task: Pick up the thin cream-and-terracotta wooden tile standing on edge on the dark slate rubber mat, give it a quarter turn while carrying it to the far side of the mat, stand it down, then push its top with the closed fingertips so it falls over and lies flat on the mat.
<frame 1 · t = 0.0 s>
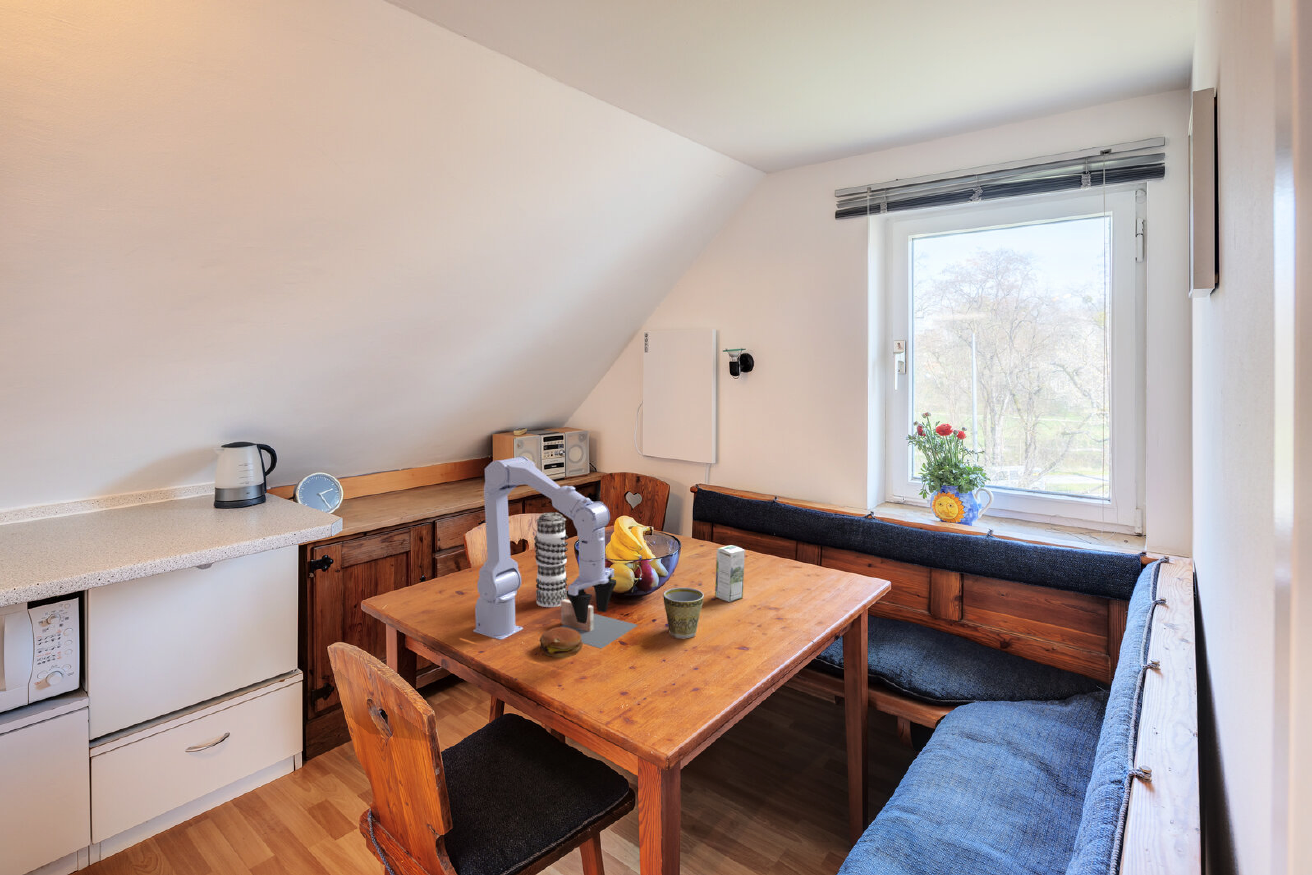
hand: (592, 616, 150), 10 cm above the table, tool pointing down, fingers open, 7 cm apart
burger: (561, 652, 155), on the table
ceramic cup: (683, 631, 167), on the table
syrup box: (729, 598, 190), on the table
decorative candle: (551, 603, 185), on the table
mat: (593, 630, 167), on the table
tile: (577, 626, 168), resting on mat
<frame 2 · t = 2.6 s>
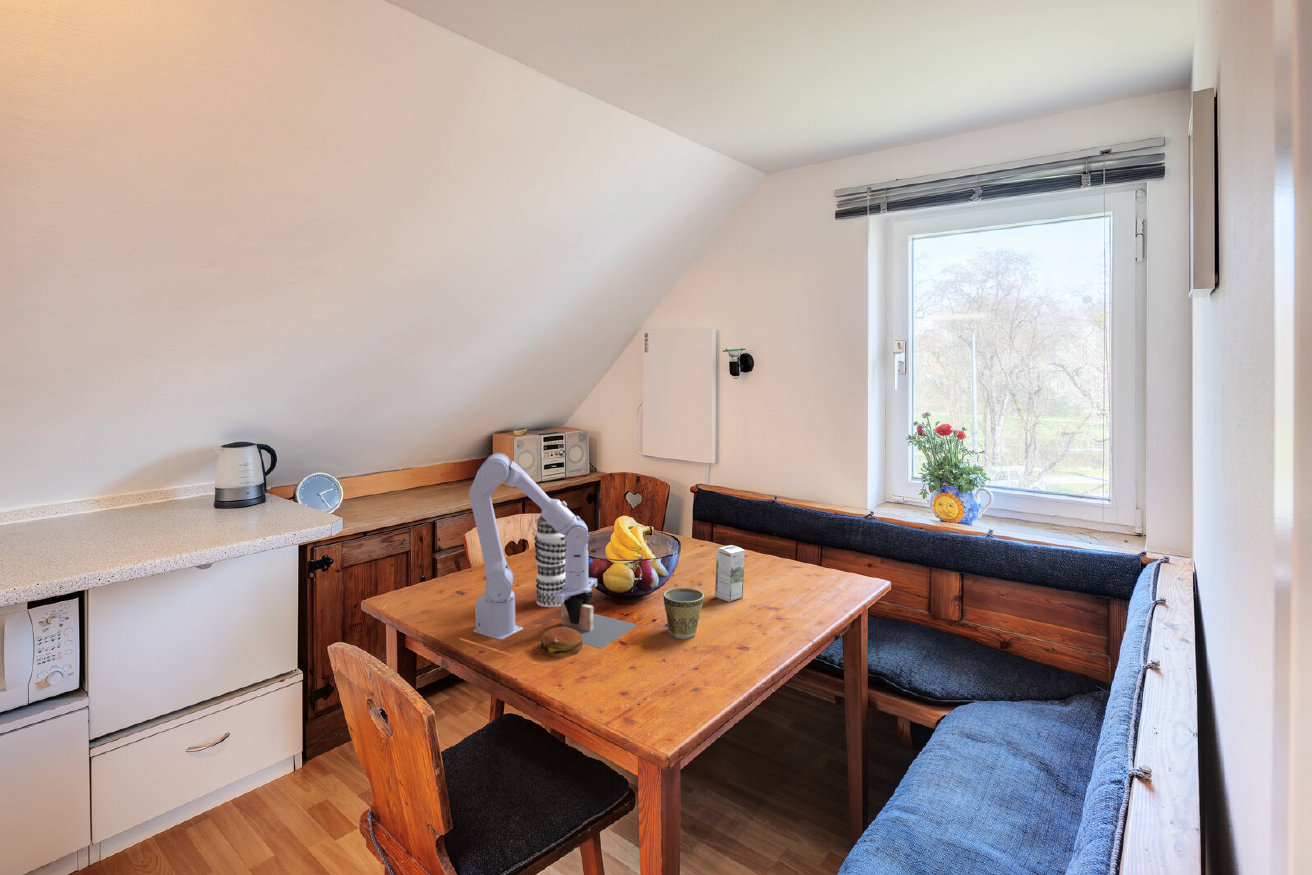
hand: (577, 621, 168), 2 cm above the table, tool pointing down, fingers closed on tile, 2 cm apart
burger: (561, 651, 155), on the table, touching mat
tile: (577, 626, 168), resting on mat, touching gripper
everything else where it was.
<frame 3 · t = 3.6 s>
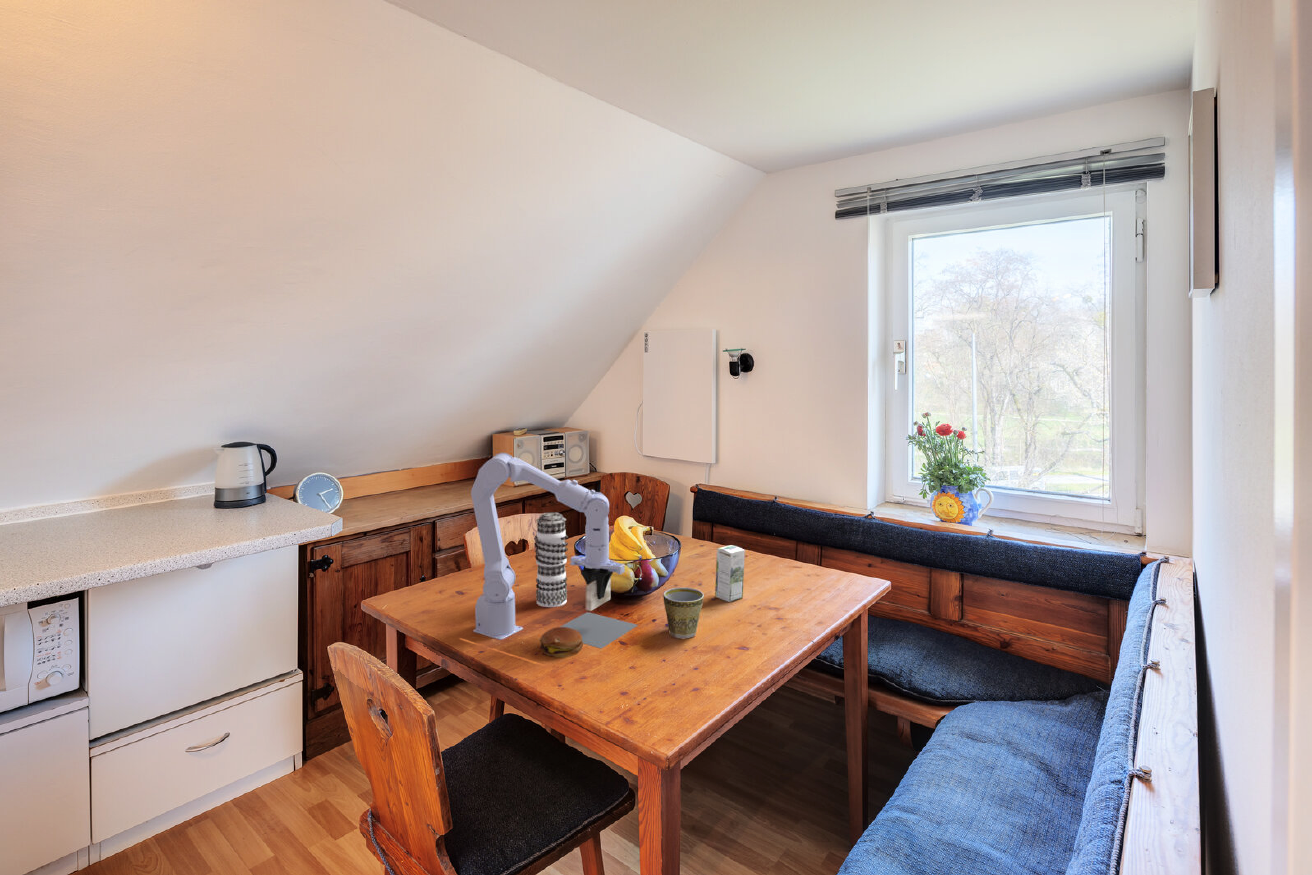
hand: (597, 597, 165), 9 cm above the table, tool pointing down, fingers closed on tile
burger: (562, 651, 155), on the table
tile: (598, 604, 166), point 7 cm above the table, touching gripper
everything else where it was.
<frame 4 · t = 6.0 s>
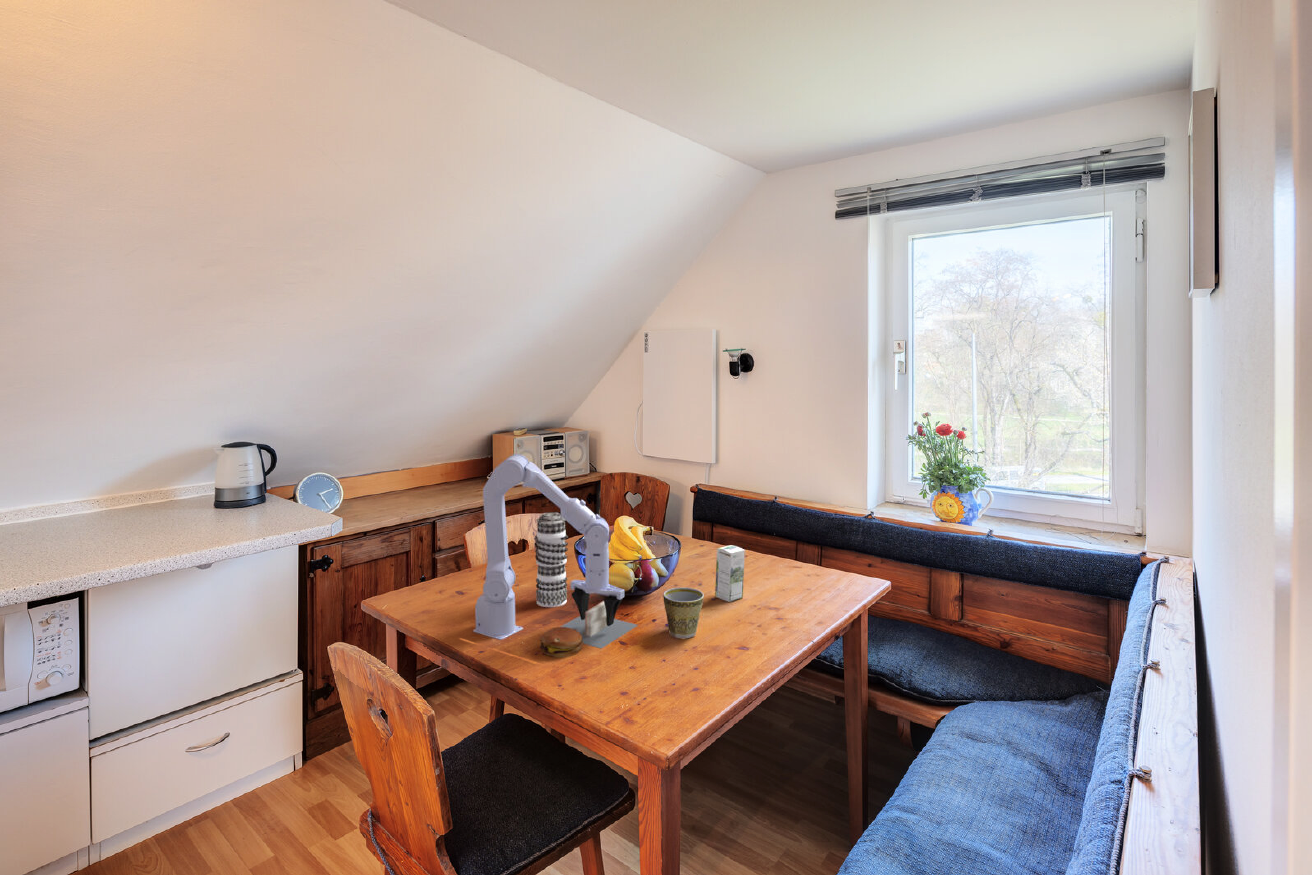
hand: (597, 621, 166), 3 cm above the table, tool pointing down, fingers open, 7 cm apart
tile: (598, 629, 166), resting on mat
everything else where it was.
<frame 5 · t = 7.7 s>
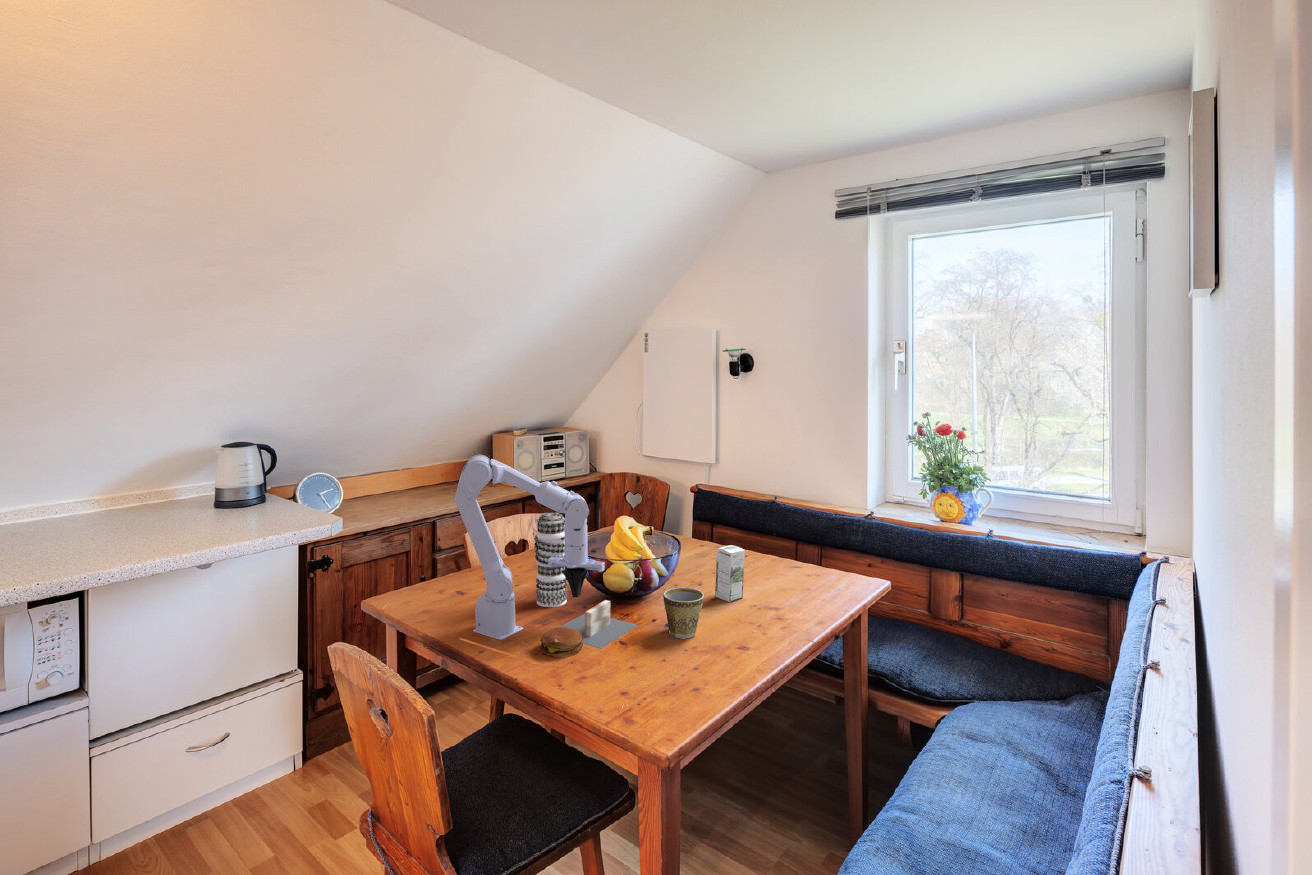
hand: (576, 595, 168), 8 cm above the table, tool pointing down, fingers closed
nothing on the table moved.
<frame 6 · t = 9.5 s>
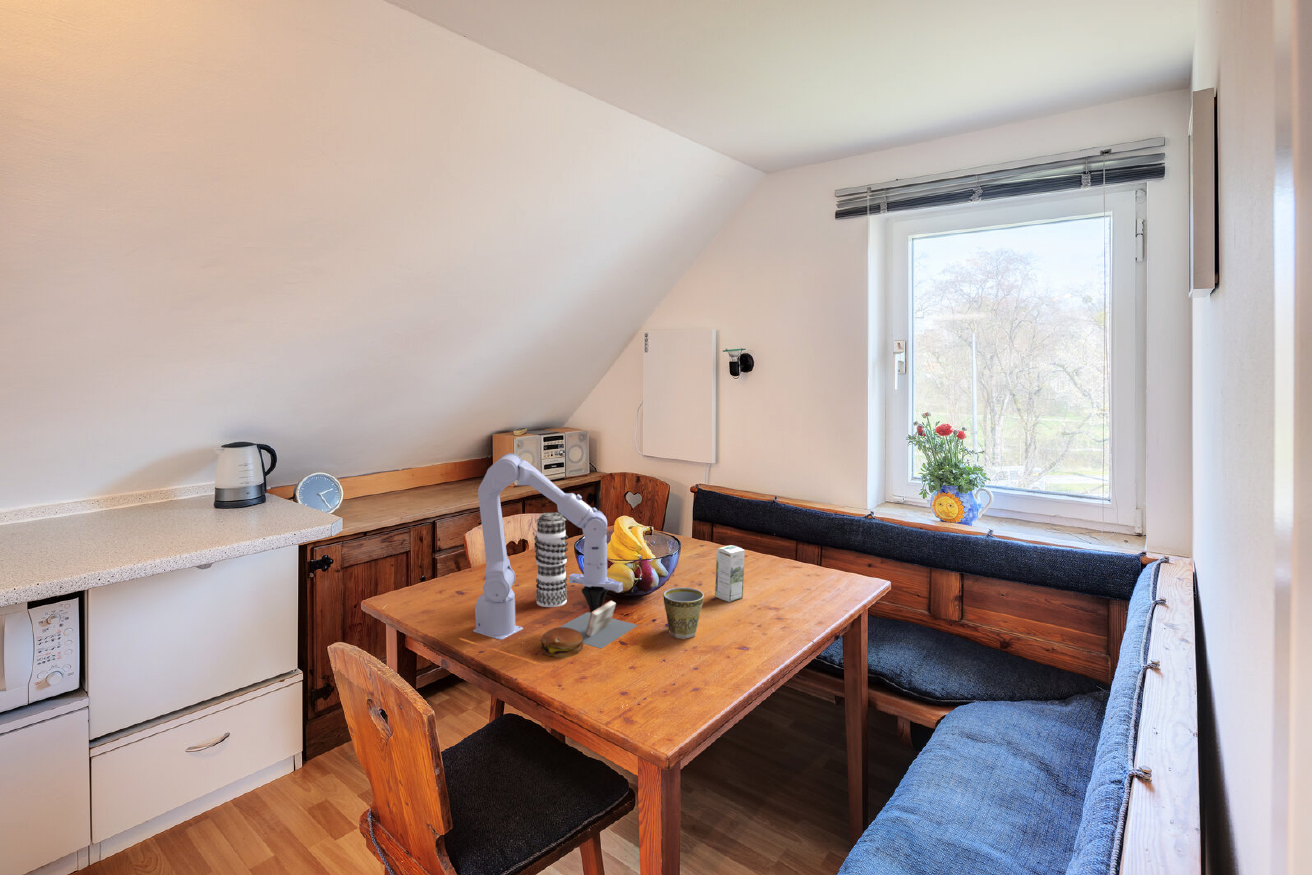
hand: (595, 614, 166), 4 cm above the table, tool pointing down, fingers closed
tile: (598, 628, 166), point 1 cm above the table, tilted 16°, touching mat
everything else where it was.
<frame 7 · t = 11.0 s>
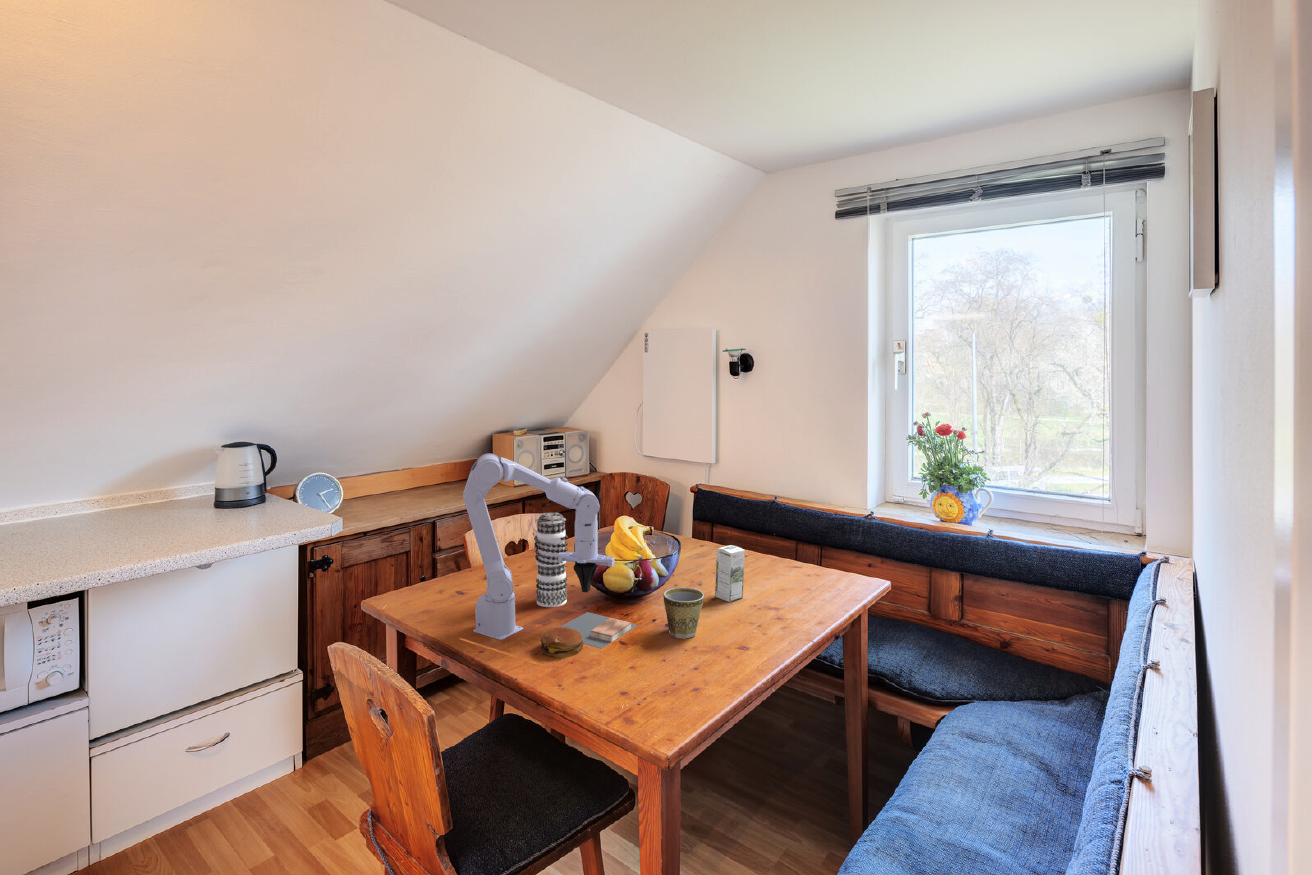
hand: (586, 590, 169), 9 cm above the table, tool pointing down, fingers closed
tile: (600, 627, 166), point 1 cm above the table, tilted 90°, touching mat
everything else where it was.
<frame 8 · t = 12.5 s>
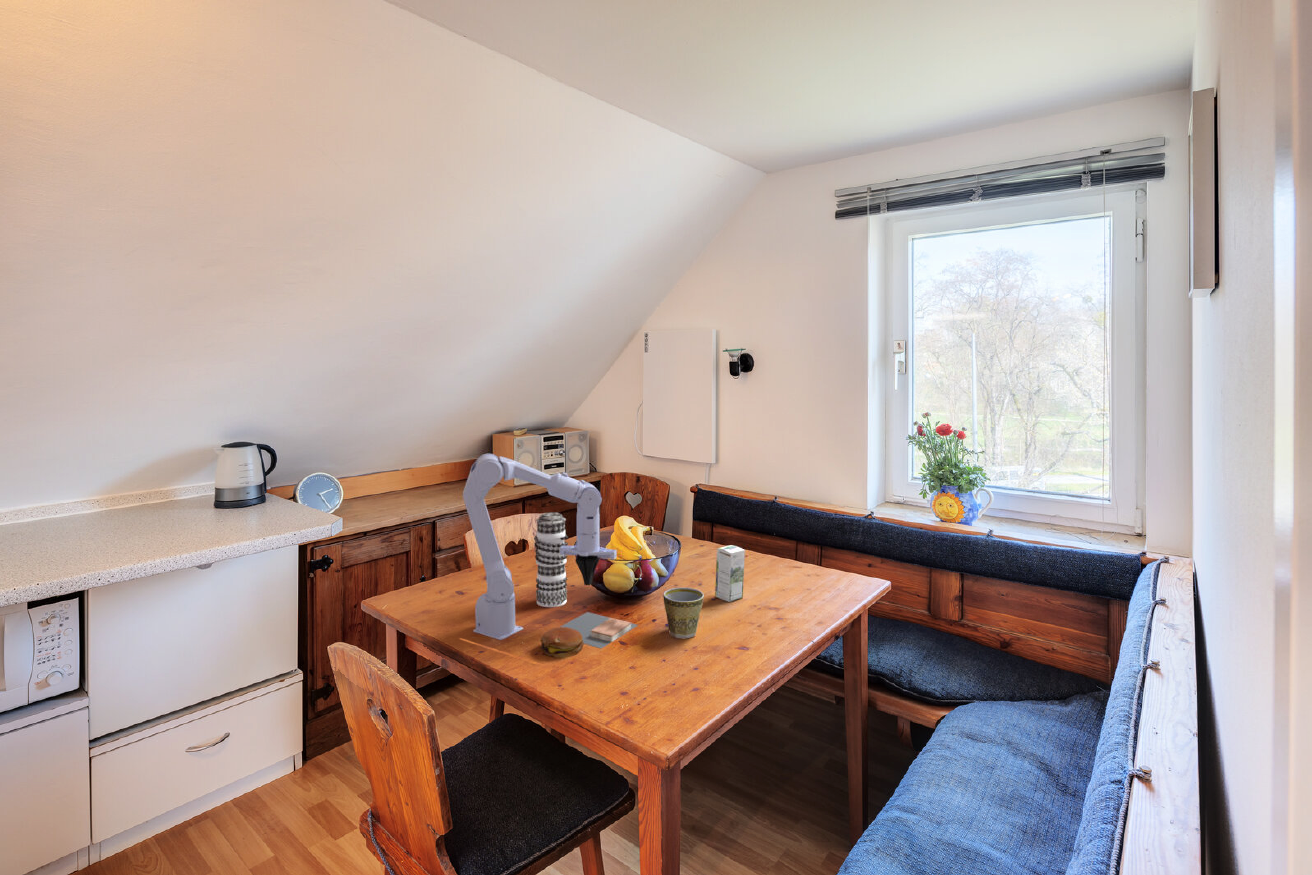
hand: (588, 583, 170), 10 cm above the table, tool pointing down, fingers closed
nothing on the table moved.
at the end: tile tilted 90°; tile inside the target area (1.6 cm from its centre), point 1.2 cm above the table; the gripper is holding nothing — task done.
